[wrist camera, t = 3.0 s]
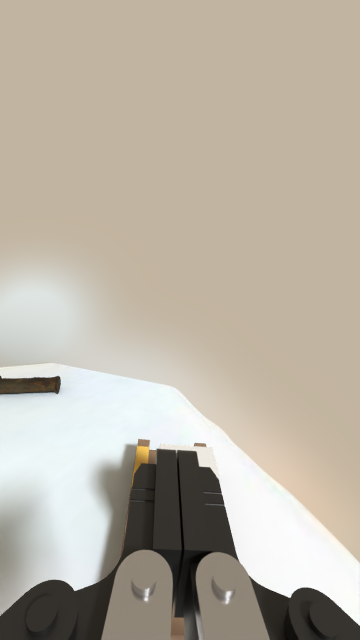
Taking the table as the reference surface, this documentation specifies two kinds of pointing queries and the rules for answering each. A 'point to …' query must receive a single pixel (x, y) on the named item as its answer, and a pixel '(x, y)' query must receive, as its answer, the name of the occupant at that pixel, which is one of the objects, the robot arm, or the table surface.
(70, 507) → the table surface
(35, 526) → the table surface
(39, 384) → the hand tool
